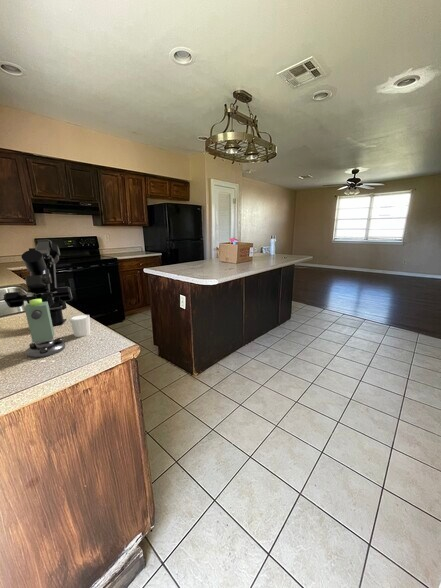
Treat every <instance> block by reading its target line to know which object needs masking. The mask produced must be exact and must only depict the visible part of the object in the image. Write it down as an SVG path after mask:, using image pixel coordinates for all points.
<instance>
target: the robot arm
mask: <svg viewBox="0 0 441 588" xmlns="http://www.w3.org/2000/svg"><path fill="white" fill-rule="evenodd" d="M60 256H61V252H60V248H59V245H58V244H56V243H54V242H52V240H50V239H38V240H37V241H36V245H35V247H33V248H31V247H28V250H27V251H24V252H23V253H22V254H21V259H22V262H23V263H24V266H25V268H26V270H27V271H28V272H29V275H27V276H25V286H26V287H27V293H25V294H23V295H22V294H21V292H20V291H11V292H10V291H9V292H5V293H4V294H3V300H4V302H5V303H6V305H7V306H8V307H9V308H12V309H13V308H21V307H22V306H24V304H25V302H27V304H30V302H29V301H30V300H33V299H42V302H47V301H48V305H49V310H50V315H51V320H52V325H53V326H60V325H63V324H64V323H66V321H67V318H64V315H63V310H66V309H67V302H71V301H73V295H72V290H71V287H69V286H62V287H61V286H60V287H59V286H57V274H56V273H57V269H56V265H57V263H58V262H59V261H60Z"/></svg>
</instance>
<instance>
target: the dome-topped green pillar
mask: <svg viewBox="0 0 441 588" xmlns="http://www.w3.org/2000/svg"><path fill="white" fill-rule="evenodd" d="M29 302H30V304H28V303H27V304H26V305H25V306H24V311H25V312H24V313H25V315H26V320H27V325H28V328H29V333H30V337H31V343H34V342H35V344H37V343H42V342H48V341H53V340H55V330H54V325H52V320H51V315H50V310H49V305H48V301H47V302H42V299H33V300H30V301H29Z"/></svg>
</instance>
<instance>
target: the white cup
mask: <svg viewBox="0 0 441 588" xmlns="http://www.w3.org/2000/svg"><path fill="white" fill-rule="evenodd" d="M90 318H91V317H90V314H77V315H74V316H71V317H70V318H69V322H70V325H71V329H72V332H73V335H74V337H77V338H78V337H79V338H80V337H86V336H89V335H90V334H91V320H90ZM85 335H86V336H85Z"/></svg>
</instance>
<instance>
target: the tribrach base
mask: <svg viewBox="0 0 441 588" xmlns="http://www.w3.org/2000/svg"><path fill="white" fill-rule="evenodd" d="M28 345H29V347H28V348H27V349H26V350H25V356H26V358H29V359H41V358H40V357H42V358H46V356H47V357H49V356H50V355H51V356H53V354H54V355H56V354H58V353H59V352H61V351H63V350H64V349H65V348H66V342H65V341H64V340H63V337H58V338H56V339H55V338H54V340H53V341H48V342H42V343H37V344H35V342H31V343H29V344H28Z"/></svg>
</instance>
